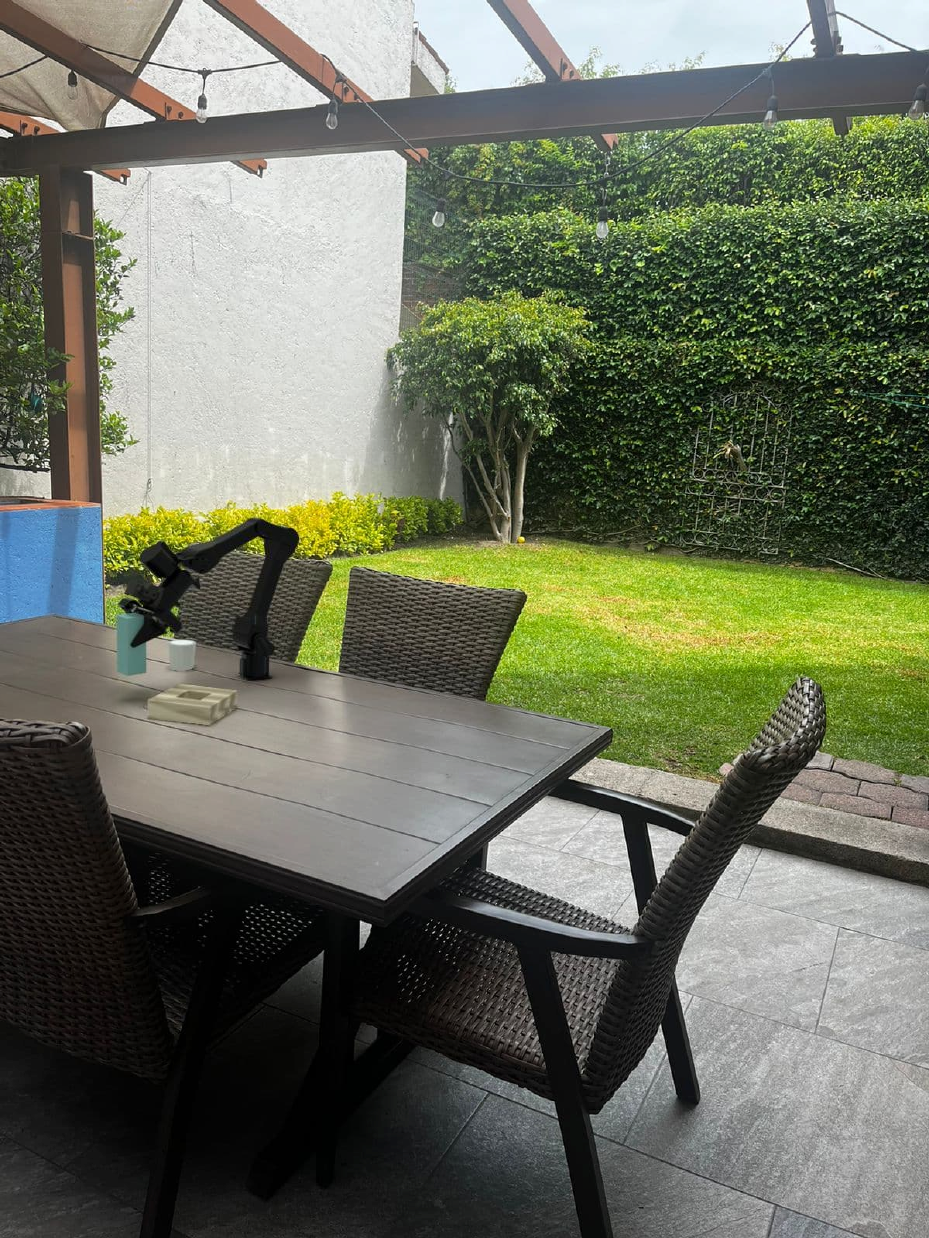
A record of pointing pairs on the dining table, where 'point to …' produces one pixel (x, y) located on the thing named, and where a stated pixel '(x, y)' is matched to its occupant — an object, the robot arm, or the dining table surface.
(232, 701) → the pocket block
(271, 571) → the robot arm
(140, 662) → the peg
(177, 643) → the white short cylinder
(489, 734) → the dining table surface
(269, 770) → the dining table surface
